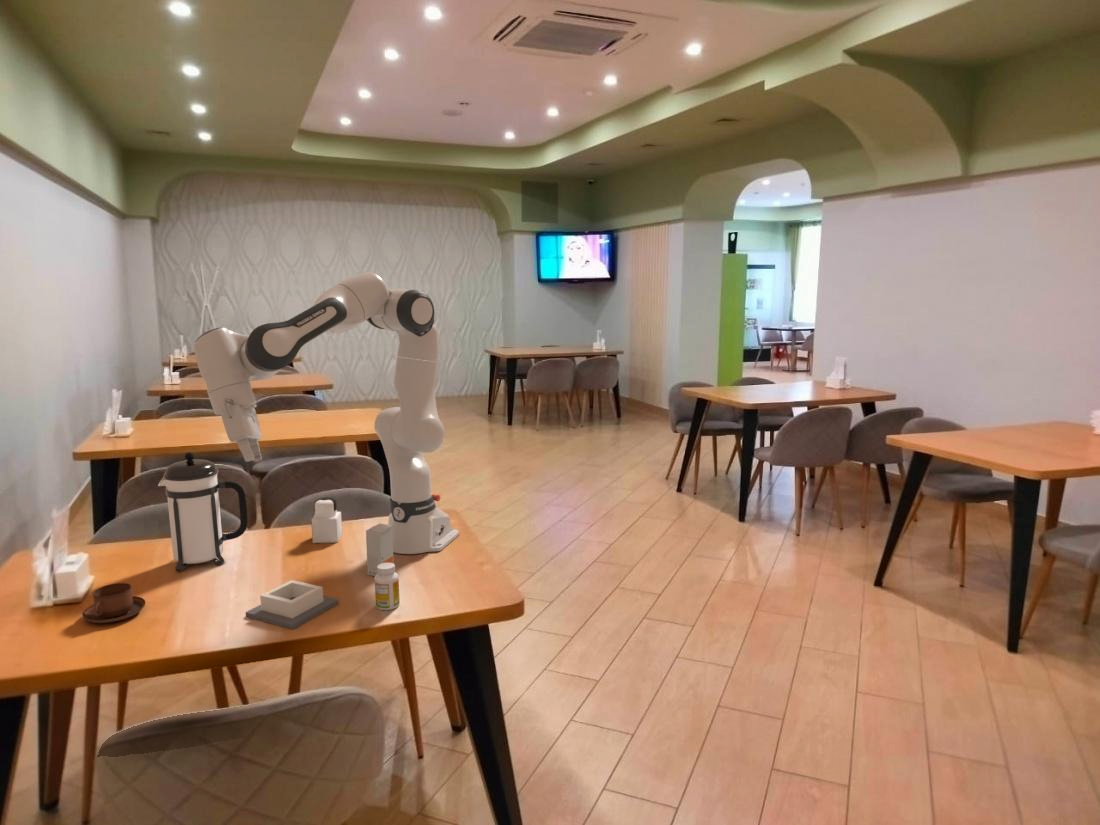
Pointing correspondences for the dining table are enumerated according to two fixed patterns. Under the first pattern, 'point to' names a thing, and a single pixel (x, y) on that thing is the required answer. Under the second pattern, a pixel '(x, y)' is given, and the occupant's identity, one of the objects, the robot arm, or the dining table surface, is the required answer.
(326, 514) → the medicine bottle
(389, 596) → the supplement bottle
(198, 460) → the coffee press
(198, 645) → the dining table surface
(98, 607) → the cup and saucer
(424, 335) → the robot arm
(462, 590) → the dining table surface
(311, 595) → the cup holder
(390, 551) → the skincare box
